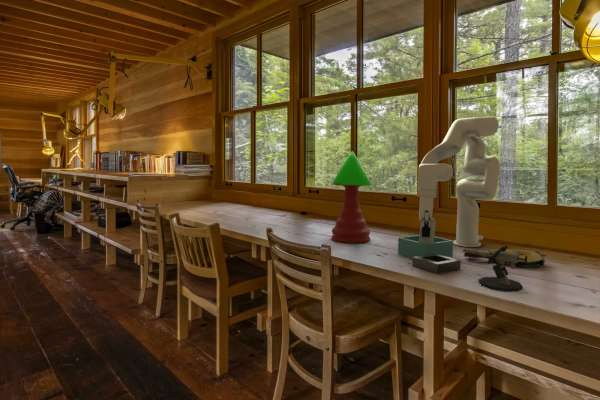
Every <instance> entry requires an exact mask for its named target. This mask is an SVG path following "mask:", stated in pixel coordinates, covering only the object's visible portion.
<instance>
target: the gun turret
mask: <svg viewBox="0 0 600 400" xmlns="http://www.w3.org/2000/svg"><path fill="white" fill-rule="evenodd" d="M508 248H509V246H508V245H505V246H502V247H500V248H498V249H499V250H498V251H497V252H495V253H492V254H489V253H490V252H486V253H484V252H485V251H480V252H478V251H479V250H472V249H471V250H470V249H465V248H463V249H462V252H463V253H465V252H468V253H473V254H479V255H484V256H490V259H488V262H487V264H493V261H495V260H496V259H498V260H499V264H498V263H496V265H492V269H493V273H495V276H483V277H481V278H479V279H478V284H479V285H480V284H481V285H480V286H481V287H483V286H484V288H486V289H490V290H492V291H493V290H494V291H497V292H498V291H499V292H506V293H507V292H510V293H511V292H519V291H521V290H523V287H524V286H523V284H521V282H520V281H516V280H513V279H511V278H508V275H509V272H508V270H507V267H506V265H504V264H505V261H509V262H511V266H510V268H511V269H512V270H515V269H516V267H515V263H517V262H519V260H524V261H525V264H527V256H525V259H523V258H519V255H520V254H515V253H509V252H505V250H506V249H508Z"/></svg>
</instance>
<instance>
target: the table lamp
mask: <svg viewBox="0 0 600 400" xmlns="http://www.w3.org/2000/svg"><path fill="white" fill-rule="evenodd" d="M331 184H332V185H333V186H342V187H343V188H344V192H343V195H344V197H343V198H344V200H343V202H342V203H343V204H342V209H341V210H340V212H339V217H338V218H337V219H336V220H335V225H334V227H333V228H331V233H332V236H331V237H330V238H331V240H332V241H334V242H339V243H348V244H359V243H366V242H370V241H371V238H370V235H371V234H370V233H371V230H370V229H369V228H368V226H367V221H366V219H365V217H363V212H362V209H361V208H360V201H359V196H360V192H359V189H360V187H361V186H362V187H363V186H366V187H367V186H371V185H372V182H371V179H369V177H368V175H367V173H366V170H365V169H364V167H363V165H362V163H361V162H360V160H359V159H358V157H357V156H356V154H355V152H354V151H353V150H352V151H351V152H350V153H349V155H348V156H347V158H346V159H345V161H344V162H343V164H342V165H341V167H340V169H339V170H338V171H337V175H336V176H335V178H334V180H333V182H332V183H331Z"/></svg>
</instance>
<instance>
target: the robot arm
mask: <svg viewBox="0 0 600 400" xmlns="http://www.w3.org/2000/svg"><path fill="white" fill-rule="evenodd" d="M499 125H500V124H499V120H498V119H497V118H496V117H495V116H475V117H473V116H472V117H466V118H465V117H462V118H458V119H455V120H454V121H453V123H451V126H450V127H449V129H448V131H447V133H446V135H445V137H444V138H443V140H442V142H441V143H439V144H438V145H436V146H435V147H433V149H431V150H430V151H428V152H427V153H426V154H425V156H424V157H423V159H422V160H421V163H420V164H419V166H418V170H417V171H418V173H417V197H418V198H419V206H418V207H419V209H418V213H419V214H418V219H419V220H418V221H419V222H421V220H423V227H422V237H430V221H431V220H432V218H433V210H434V198H435V199H436V198H437V194H438V193H437V191H438V189H437V188H438V182H446V181H449V180H450V179H451V178H452V177H453V174H454V169H453V166H451V165H450V164H448V163H443V162H442V163H441V162H440V161H442V160H445V159H448V158H451V157H454V156H456V155H458V154H459V153H460V152H461V150H462V149H463V147H464V145H465V147H466V148H465V155H464V159H463V166H462V171H463V174H464V175H465V176H468V177H483V179H482V178H463V179H460V180H459V181H458V182H457V183H456V185H455V192H456V198H457V199H456V200H457V206H456V209H457V212H456V234H455V239H454V240H452V241H453V246H454V245H455V246H457V247H463V248H479V247H481V246H482V243H481V242H480V240H483V239H484V236H483V235H479V219H480V207H479V205H478V203H477V201H476V200H478V201H479V200H480V201H491V200H493V199H494V198H495V197H496V194H497V191H498V185H499V184H498V183H499V179H500V178H499V177H500V172H501V163H500V161H499V160H500V159H498V158H497V157H496V156H492V155H489V156H488V155H486V150H487V147H486V144H485V142H484V140H483V139H482V138H481V137H488V136H494V135H495V134H496V133H497V132H498V130H499V127H500V126H499ZM424 219H425V220H424ZM428 219H429V220H428Z"/></svg>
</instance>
